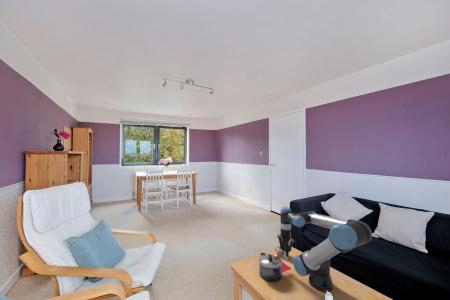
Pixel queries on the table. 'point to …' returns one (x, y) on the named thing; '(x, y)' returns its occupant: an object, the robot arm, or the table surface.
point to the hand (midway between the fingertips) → (285, 259)
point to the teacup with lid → (280, 250)
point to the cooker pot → (270, 273)
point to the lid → (271, 260)
